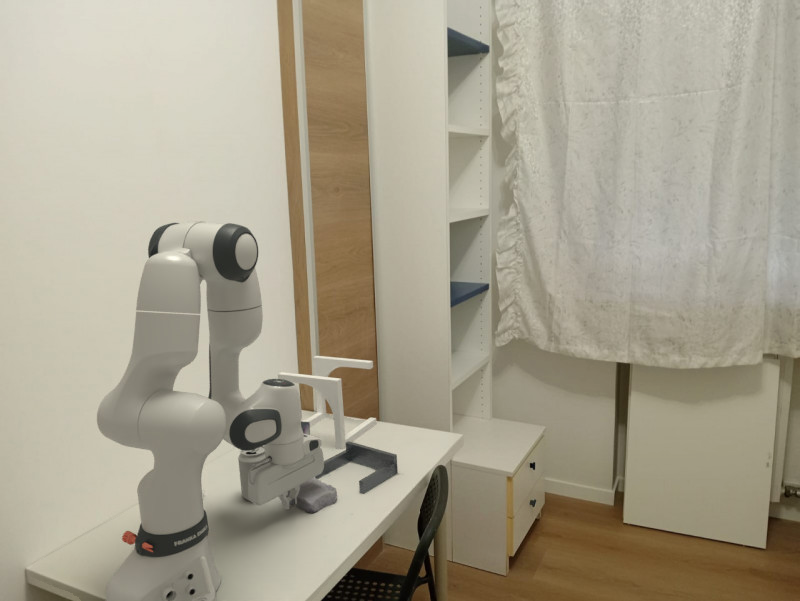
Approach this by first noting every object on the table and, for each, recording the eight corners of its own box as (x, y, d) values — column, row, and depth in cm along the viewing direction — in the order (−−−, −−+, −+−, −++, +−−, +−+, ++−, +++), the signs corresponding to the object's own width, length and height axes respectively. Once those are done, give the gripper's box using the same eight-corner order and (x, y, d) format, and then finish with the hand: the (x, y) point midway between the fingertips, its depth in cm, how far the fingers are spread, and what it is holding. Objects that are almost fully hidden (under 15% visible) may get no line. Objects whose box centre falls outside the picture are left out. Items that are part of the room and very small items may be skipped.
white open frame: (321, 416, 216) (316, 355, 212) (376, 424, 207) (372, 360, 203) (283, 440, 198) (277, 374, 194) (342, 449, 189) (337, 380, 185)
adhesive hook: (192, 501, 164) (191, 489, 163) (199, 497, 166) (198, 485, 166) (202, 503, 163) (201, 491, 162) (209, 499, 165) (208, 487, 164)
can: (235, 500, 163) (230, 452, 160) (255, 486, 169) (250, 441, 167) (261, 505, 160) (256, 457, 157) (279, 491, 166) (275, 444, 164)
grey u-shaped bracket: (363, 493, 163) (362, 474, 162) (314, 477, 173) (313, 458, 172) (397, 473, 173) (396, 454, 172) (349, 458, 183) (348, 441, 182)
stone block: (312, 492, 169) (279, 499, 162) (315, 473, 168) (281, 479, 161) (342, 509, 160) (308, 517, 153) (345, 490, 160) (310, 497, 153)
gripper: (257, 469, 142) (263, 530, 145) (326, 436, 158) (330, 492, 161) (238, 462, 146) (244, 521, 149) (307, 431, 162) (311, 485, 165)
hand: (289, 506), depth 155 cm, fingers closed
